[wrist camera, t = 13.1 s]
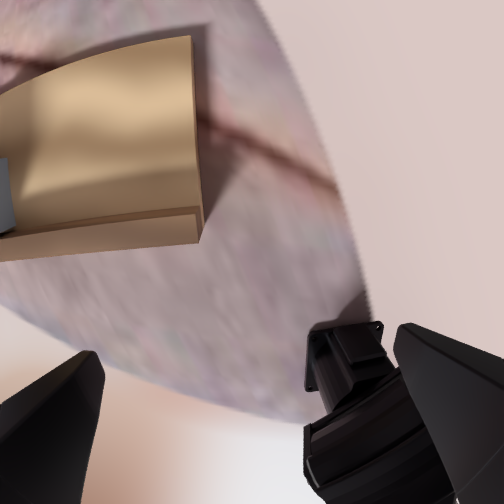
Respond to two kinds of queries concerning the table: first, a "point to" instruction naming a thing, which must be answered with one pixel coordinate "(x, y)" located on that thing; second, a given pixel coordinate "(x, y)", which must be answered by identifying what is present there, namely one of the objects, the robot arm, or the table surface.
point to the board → (104, 154)
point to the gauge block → (5, 198)
